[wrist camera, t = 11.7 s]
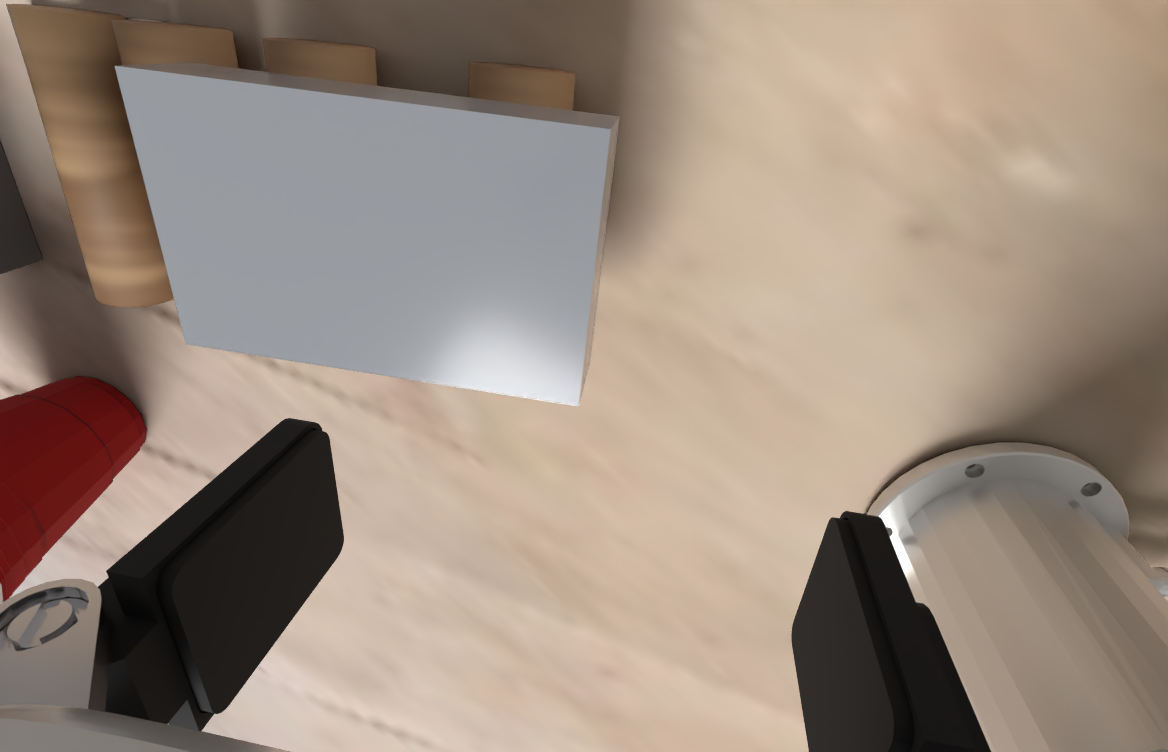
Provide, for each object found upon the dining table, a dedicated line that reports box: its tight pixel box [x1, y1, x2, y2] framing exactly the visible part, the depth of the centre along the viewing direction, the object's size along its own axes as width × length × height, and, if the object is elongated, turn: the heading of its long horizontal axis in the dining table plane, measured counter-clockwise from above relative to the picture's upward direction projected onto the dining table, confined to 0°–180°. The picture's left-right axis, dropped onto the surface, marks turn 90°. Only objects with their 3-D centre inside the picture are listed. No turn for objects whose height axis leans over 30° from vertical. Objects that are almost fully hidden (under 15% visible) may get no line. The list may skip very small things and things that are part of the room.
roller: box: [8, 4, 174, 307], centre depth 27 cm, size 4×12×4 cm
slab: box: [115, 62, 620, 406], centre depth 23 cm, size 16×10×4 cm, turn 84°
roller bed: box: [112, 20, 576, 110], centre depth 26 cm, size 18×12×4 cm, turn 84°
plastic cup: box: [0, 376, 146, 604], centre depth 32 cm, size 11×11×12 cm
